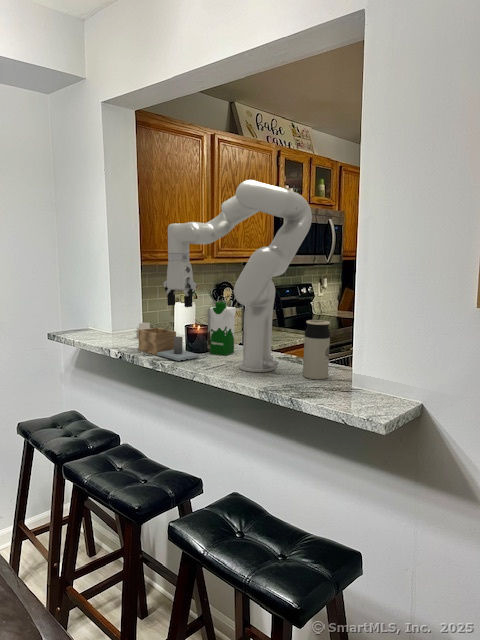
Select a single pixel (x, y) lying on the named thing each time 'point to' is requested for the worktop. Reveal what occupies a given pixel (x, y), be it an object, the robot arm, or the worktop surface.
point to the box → (156, 340)
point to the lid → (178, 351)
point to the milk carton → (222, 329)
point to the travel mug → (316, 350)
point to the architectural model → (142, 327)
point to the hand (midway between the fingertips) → (179, 306)
